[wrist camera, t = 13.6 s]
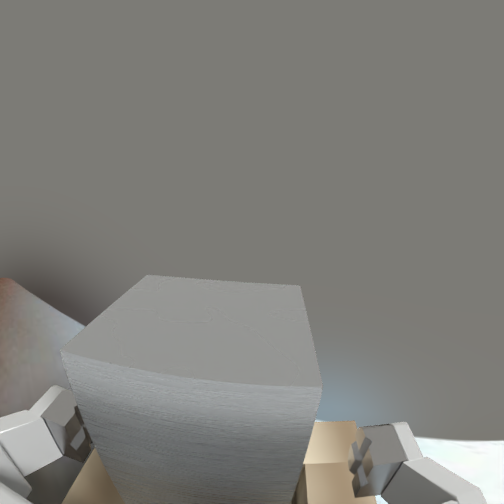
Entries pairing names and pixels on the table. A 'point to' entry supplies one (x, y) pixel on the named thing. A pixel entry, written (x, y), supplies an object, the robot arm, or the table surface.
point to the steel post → (199, 390)
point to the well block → (307, 489)
